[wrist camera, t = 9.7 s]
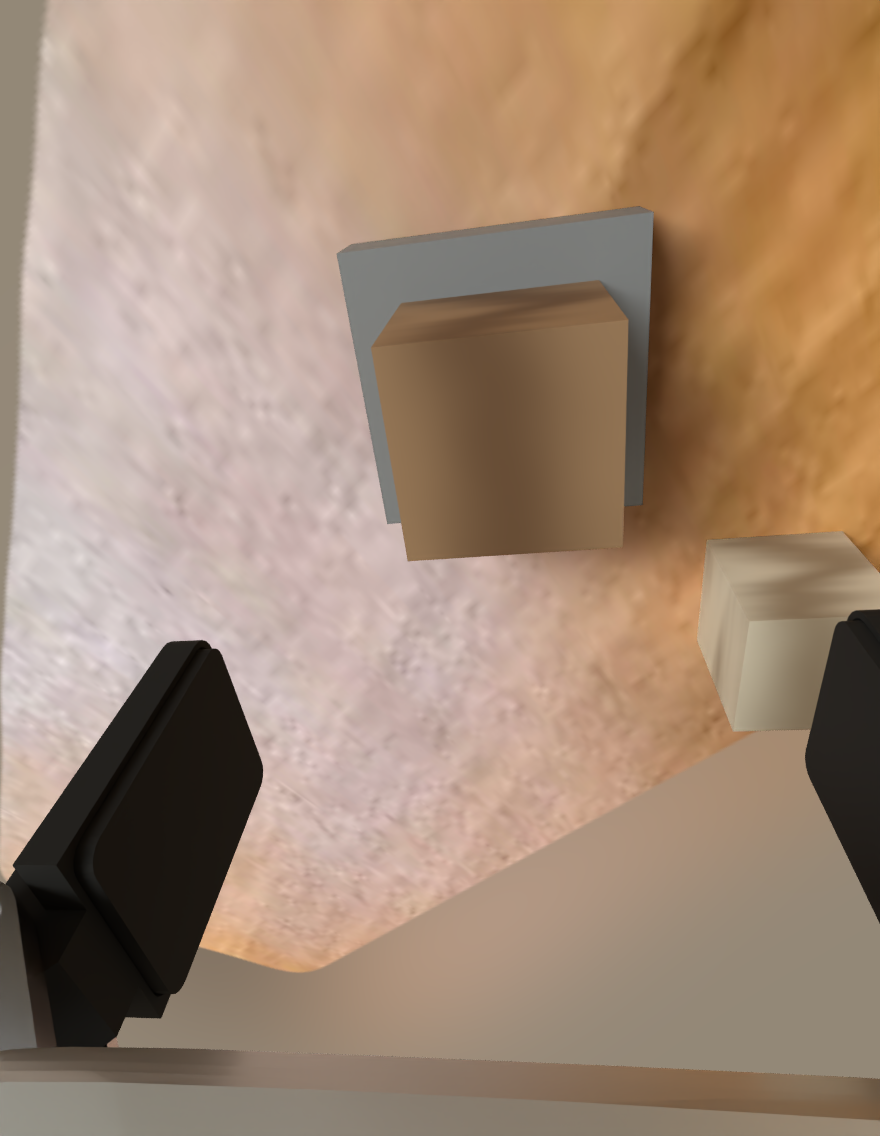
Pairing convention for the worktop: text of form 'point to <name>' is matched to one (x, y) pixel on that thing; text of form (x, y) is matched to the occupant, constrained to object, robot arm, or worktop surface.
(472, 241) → the slate slab
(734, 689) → the maple block
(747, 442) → the worktop surface
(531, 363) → the walnut block
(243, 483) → the worktop surface
